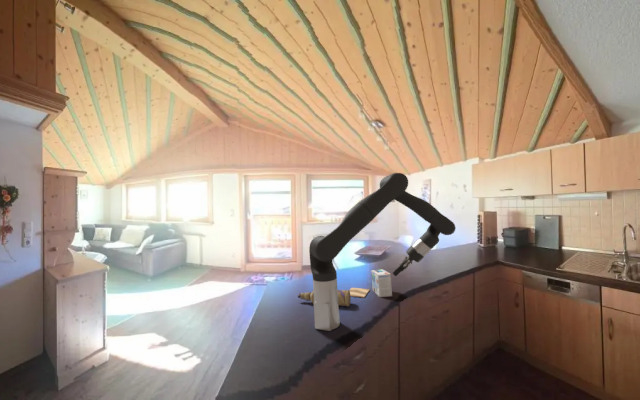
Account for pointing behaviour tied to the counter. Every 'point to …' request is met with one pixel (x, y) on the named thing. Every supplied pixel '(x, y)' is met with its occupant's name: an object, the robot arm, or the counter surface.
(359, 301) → the counter surface
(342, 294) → the decorative bottle
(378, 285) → the light bulb box
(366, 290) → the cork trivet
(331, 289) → the robot arm
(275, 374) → the counter surface
